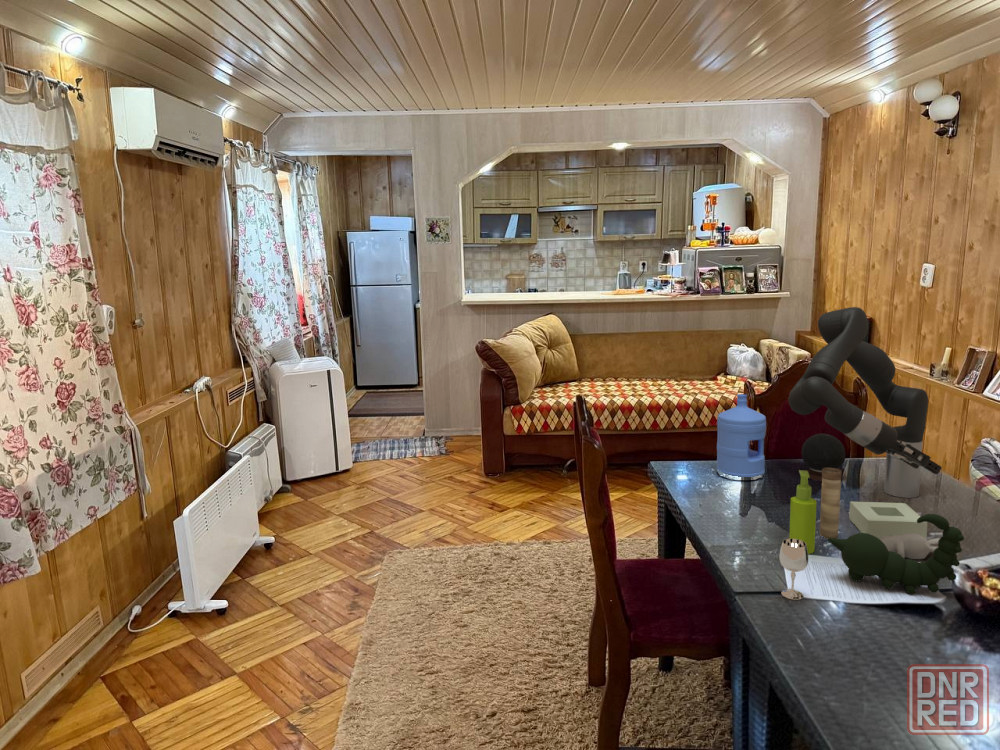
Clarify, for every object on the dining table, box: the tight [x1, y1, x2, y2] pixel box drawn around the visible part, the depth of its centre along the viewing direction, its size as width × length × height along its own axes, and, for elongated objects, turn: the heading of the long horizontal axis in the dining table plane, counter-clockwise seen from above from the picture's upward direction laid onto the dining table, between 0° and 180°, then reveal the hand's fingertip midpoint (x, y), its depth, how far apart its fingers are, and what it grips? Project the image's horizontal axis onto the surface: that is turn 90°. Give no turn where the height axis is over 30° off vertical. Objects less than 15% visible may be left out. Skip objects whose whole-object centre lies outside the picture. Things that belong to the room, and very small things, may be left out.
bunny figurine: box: [879, 533, 941, 560], centre depth 160 cm, size 10×5×15 cm
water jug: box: [715, 393, 767, 477], centre depth 223 cm, size 16×16×28 cm
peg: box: [819, 468, 843, 539], centre depth 172 cm, size 4×4×18 cm
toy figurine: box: [826, 513, 965, 595], centre depth 145 cm, size 9×19×25 cm
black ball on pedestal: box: [801, 433, 846, 481], centre depth 219 cm, size 13×13×15 cm
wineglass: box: [778, 538, 809, 601], centre depth 143 cm, size 6×6×12 cm
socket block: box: [848, 501, 929, 539], centre depth 176 cm, size 14×14×5 cm
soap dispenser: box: [788, 469, 818, 555], centre depth 165 cm, size 6×7×20 cm
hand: (928, 468), depth 158 cm, fingers open, 8 cm apart
